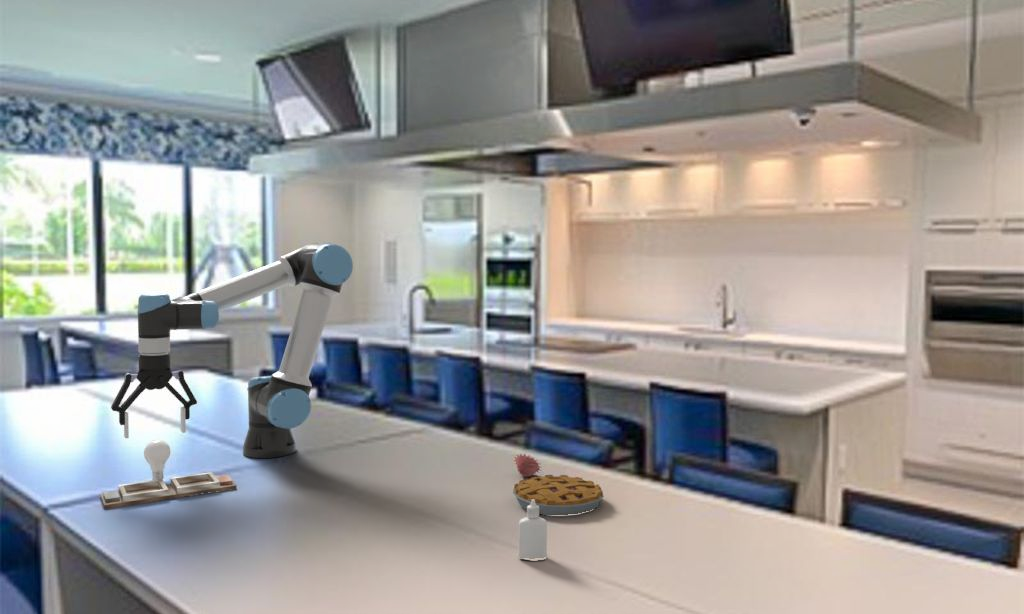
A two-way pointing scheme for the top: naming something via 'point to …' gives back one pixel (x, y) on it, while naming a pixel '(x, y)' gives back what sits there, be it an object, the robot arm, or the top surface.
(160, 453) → the lightbulb
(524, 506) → the pie
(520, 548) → the eye dropper bottle
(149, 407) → the top surface
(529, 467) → the flower
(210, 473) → the socket board
